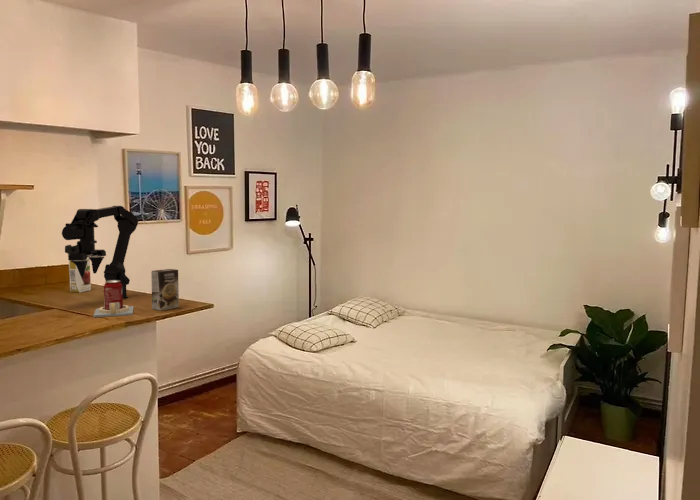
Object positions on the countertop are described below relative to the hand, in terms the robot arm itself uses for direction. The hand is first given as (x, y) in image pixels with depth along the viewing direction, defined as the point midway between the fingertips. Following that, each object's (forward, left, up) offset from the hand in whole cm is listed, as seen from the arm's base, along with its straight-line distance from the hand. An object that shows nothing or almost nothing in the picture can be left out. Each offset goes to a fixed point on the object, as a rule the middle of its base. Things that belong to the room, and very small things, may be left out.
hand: (88, 274), depth 225 cm
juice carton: (-8, -38, -13) cm, 41 cm away
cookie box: (-21, +28, -13) cm, 37 cm away
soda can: (-2, +22, -12) cm, 26 cm away
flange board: (-2, +22, -13) cm, 26 cm away
